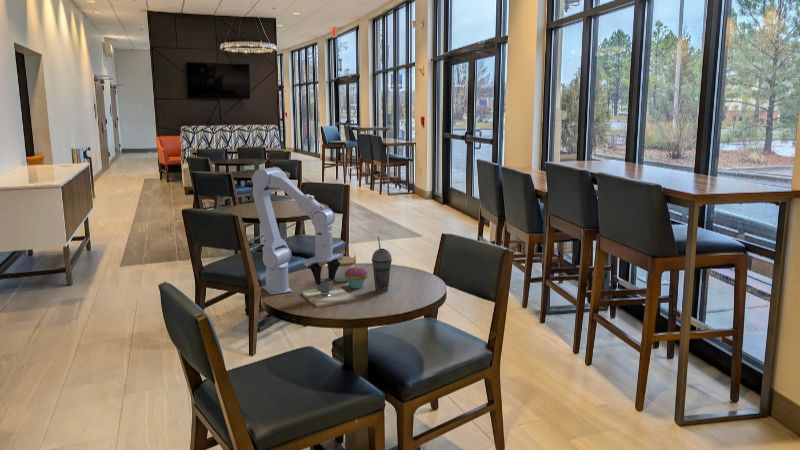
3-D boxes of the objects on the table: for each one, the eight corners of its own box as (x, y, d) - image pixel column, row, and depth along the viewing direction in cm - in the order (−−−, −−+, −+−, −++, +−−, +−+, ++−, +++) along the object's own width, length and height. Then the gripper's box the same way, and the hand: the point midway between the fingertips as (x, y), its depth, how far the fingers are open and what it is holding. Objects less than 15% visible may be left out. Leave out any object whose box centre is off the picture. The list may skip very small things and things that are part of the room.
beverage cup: (389, 294, 208) (389, 239, 204) (369, 293, 209) (369, 238, 205) (393, 288, 215) (394, 235, 211) (374, 287, 216) (374, 234, 212)
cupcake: (342, 284, 220) (341, 253, 217) (363, 282, 222) (363, 251, 220) (348, 291, 212) (348, 258, 209) (370, 288, 215) (370, 256, 212)
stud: (316, 294, 205) (316, 289, 204) (328, 292, 207) (328, 288, 206) (321, 297, 201) (321, 293, 201) (333, 295, 203) (333, 291, 203)
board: (301, 294, 208) (301, 291, 208) (338, 288, 214) (338, 286, 214) (317, 307, 194) (317, 304, 194) (356, 301, 200) (356, 298, 200)
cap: (326, 286, 207) (326, 276, 206) (335, 290, 203) (334, 280, 202) (314, 289, 204) (314, 278, 203) (322, 292, 200) (322, 282, 199)
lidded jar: (354, 283, 221) (354, 259, 219) (326, 283, 221) (325, 258, 219) (357, 275, 231) (357, 252, 229) (330, 275, 231) (329, 252, 230)
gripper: (311, 249, 193) (312, 289, 196) (348, 243, 202) (348, 281, 204) (300, 245, 198) (301, 284, 201) (337, 240, 207) (337, 277, 210)
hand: (324, 282), depth 203 cm, fingers closed on cap, 5 cm apart
